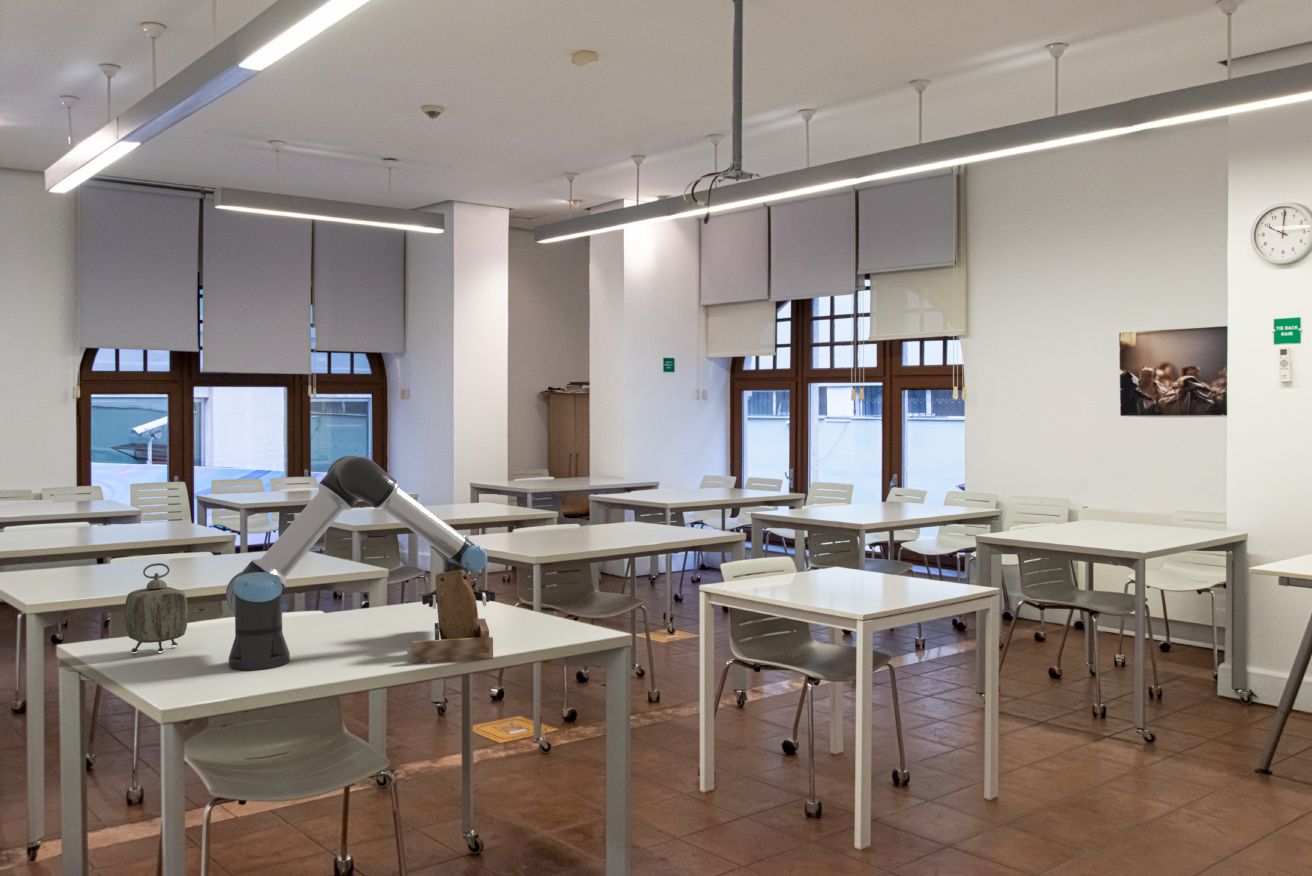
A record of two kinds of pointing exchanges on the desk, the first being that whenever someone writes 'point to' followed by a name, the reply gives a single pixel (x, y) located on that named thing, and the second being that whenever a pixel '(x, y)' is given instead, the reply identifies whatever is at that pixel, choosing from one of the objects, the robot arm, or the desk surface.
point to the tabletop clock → (156, 612)
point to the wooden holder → (454, 647)
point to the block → (456, 606)
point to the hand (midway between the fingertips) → (459, 602)
